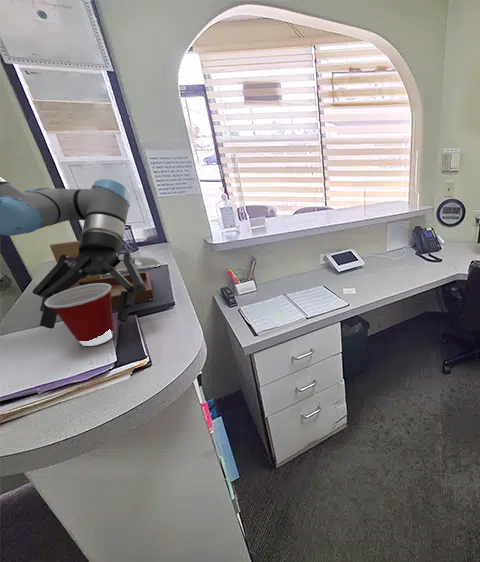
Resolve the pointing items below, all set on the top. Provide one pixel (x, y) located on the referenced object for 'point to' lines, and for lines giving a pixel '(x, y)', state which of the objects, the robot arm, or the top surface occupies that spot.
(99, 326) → the plastic cup
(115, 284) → the tray
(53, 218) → the robot arm
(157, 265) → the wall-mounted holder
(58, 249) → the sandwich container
